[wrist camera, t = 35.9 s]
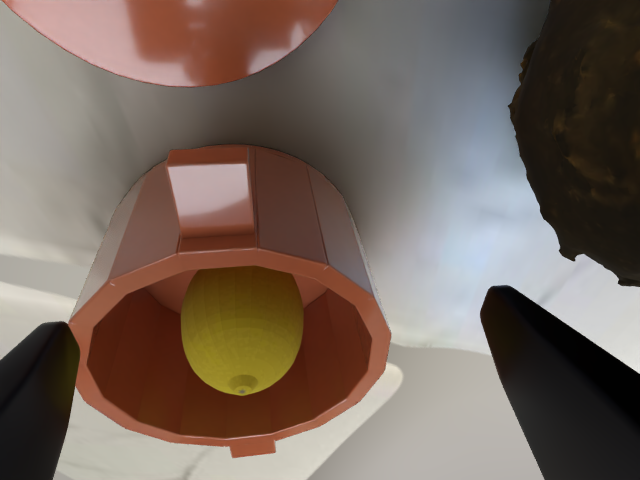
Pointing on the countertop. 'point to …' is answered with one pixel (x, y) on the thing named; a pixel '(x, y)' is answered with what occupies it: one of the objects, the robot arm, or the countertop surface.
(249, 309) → the lemon
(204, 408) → the pot
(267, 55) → the lid
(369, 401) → the countertop surface
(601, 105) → the pottery vessel
